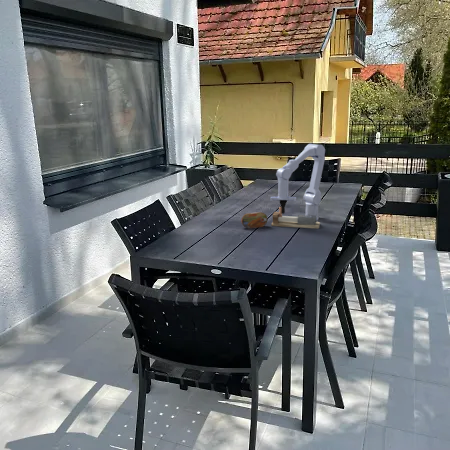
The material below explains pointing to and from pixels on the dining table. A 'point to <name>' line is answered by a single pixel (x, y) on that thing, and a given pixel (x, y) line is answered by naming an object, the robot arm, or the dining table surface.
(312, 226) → the base board
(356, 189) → the dining table surface
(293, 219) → the white bar
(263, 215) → the tin
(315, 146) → the robot arm
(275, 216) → the socket block
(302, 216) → the grey rectangular sleeve
